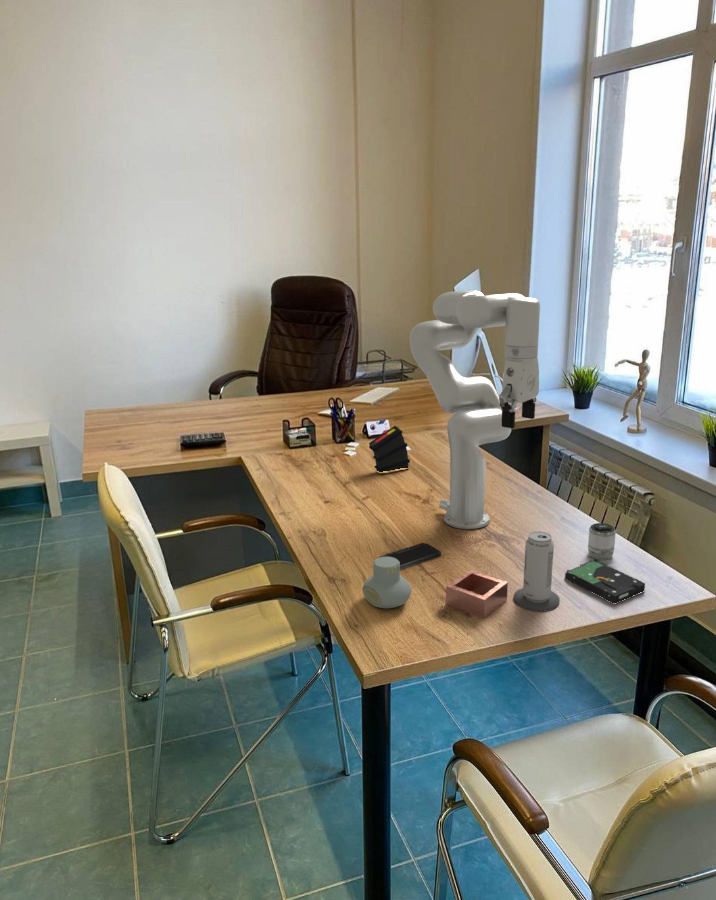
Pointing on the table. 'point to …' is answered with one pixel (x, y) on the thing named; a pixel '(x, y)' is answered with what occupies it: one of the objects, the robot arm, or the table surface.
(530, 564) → the energy drink can
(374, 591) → the air freshener
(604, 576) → the disk drive
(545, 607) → the mat
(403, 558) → the phone
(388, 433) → the magazine
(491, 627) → the table surface
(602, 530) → the camera lens
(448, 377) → the robot arm
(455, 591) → the collar
